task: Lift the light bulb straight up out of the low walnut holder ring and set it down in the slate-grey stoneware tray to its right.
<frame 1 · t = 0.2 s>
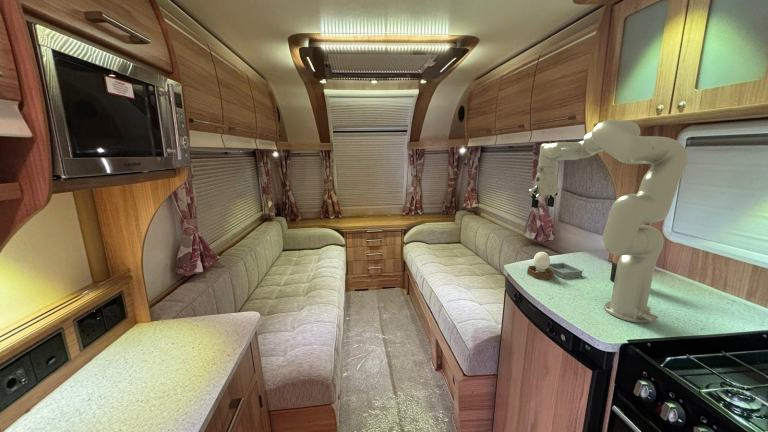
hand: (542, 207, 140), 30 cm above the worktop, tool pointing down, fingers open, 9 cm apart
holder ring: (540, 274, 136), on the worktop
tray: (562, 272, 139), on the worktop
light bulb: (540, 275, 137), resting in holder ring
travel mug: (620, 282, 129), on the worktop
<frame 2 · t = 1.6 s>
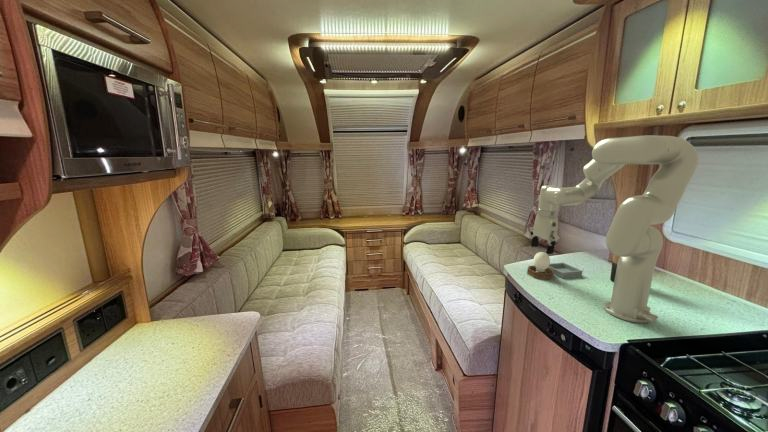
hand: (541, 249, 135), 12 cm above the worktop, tool pointing down, fingers open, 9 cm apart
nothing on the worktop moved.
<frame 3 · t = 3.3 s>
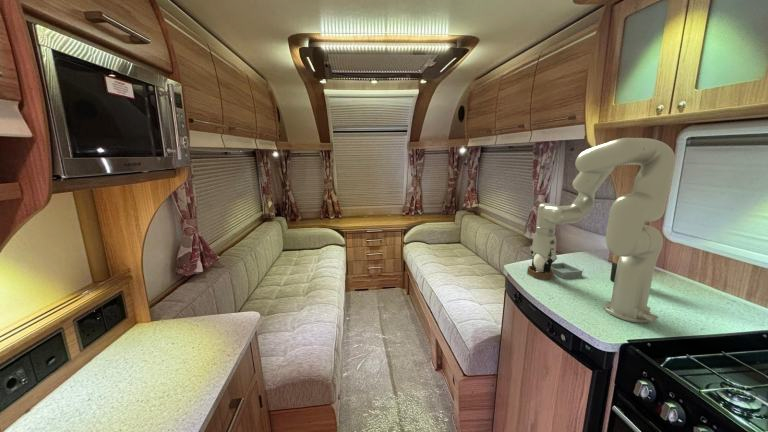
hand: (540, 268, 136), 3 cm above the worktop, tool pointing down, fingers closed on light bulb, 6 cm apart
light bulb: (540, 275, 137), resting in holder ring, touching gripper
everything else where it was.
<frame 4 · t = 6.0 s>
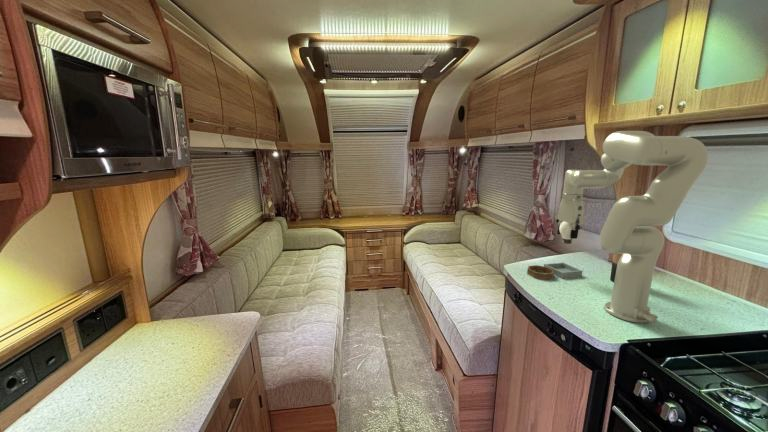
hand: (566, 235, 135), 18 cm above the worktop, tool pointing down, fingers closed on light bulb, 6 cm apart
light bulb: (566, 243, 136), point 15 cm above the worktop, touching gripper
everything else where it was.
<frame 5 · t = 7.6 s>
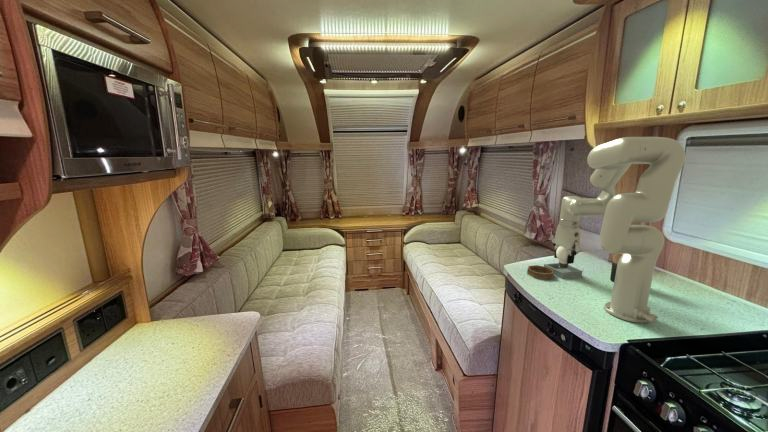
hand: (563, 260, 138), 6 cm above the worktop, tool pointing down, fingers closed on light bulb, 6 cm apart
light bulb: (562, 267, 139), point 3 cm above the worktop, touching gripper
everything else where it was.
when the fingers open (5 cm above the worktop, at t = 8.8 s): light bulb stays where it is, resting on tray.
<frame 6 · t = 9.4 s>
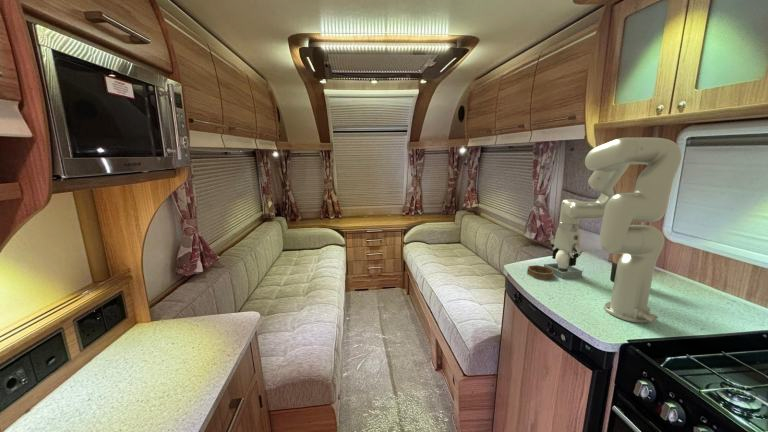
hand: (563, 261, 138), 5 cm above the worktop, tool pointing down, fingers open, 9 cm apart
light bulb: (562, 271, 139), resting on tray
everything else where it was.
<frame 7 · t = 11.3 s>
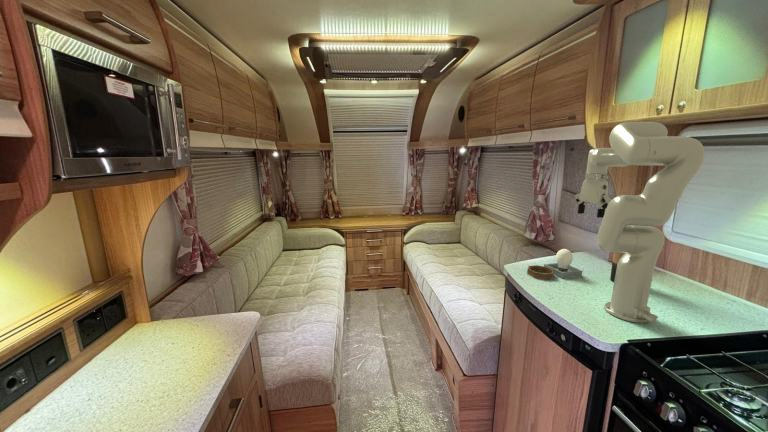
hand: (590, 215, 134), 28 cm above the worktop, tool pointing down, fingers open, 9 cm apart
nothing on the worktop moved.
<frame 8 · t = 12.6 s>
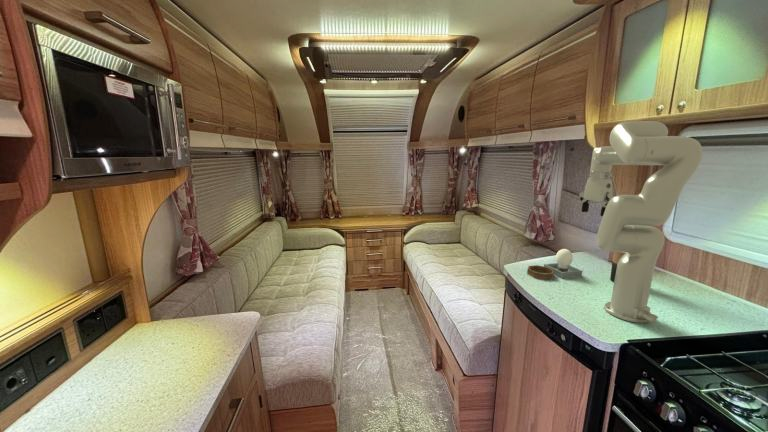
hand: (593, 213, 134), 28 cm above the worktop, tool pointing down, fingers open, 9 cm apart
nothing on the worktop moved.
at the end: light bulb inside the target area on the tray (0.1 cm from its centre), point 0.4 cm above the tray's base; light bulb touching tray; the gripper is holding nothing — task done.
